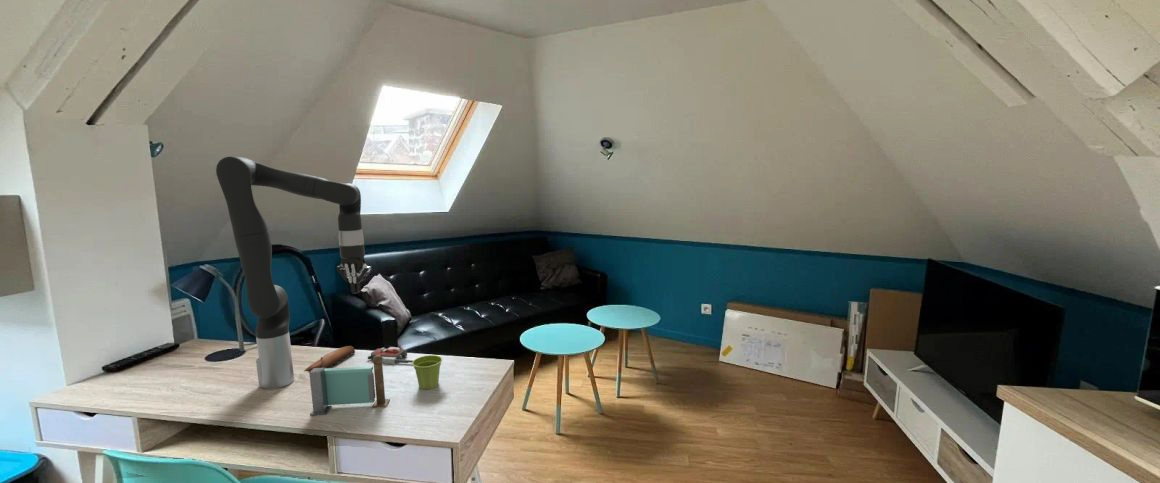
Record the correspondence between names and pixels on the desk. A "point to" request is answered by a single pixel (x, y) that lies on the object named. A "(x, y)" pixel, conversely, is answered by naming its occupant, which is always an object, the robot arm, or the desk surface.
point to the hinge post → (379, 383)
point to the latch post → (319, 392)
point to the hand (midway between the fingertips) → (356, 293)
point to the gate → (350, 385)
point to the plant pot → (427, 371)
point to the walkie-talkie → (391, 355)
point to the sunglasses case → (332, 358)
